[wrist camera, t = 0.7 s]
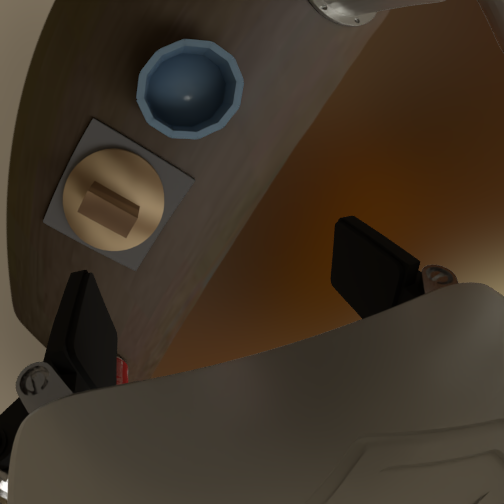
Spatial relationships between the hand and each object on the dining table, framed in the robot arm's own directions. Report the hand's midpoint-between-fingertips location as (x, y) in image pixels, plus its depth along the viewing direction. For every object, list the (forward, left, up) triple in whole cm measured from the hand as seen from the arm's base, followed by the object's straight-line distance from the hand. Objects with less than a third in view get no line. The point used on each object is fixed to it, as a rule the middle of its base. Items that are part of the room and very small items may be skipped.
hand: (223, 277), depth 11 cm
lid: (+11, -3, -29) cm, 31 cm away
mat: (+11, -3, -30) cm, 32 cm away
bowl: (-6, -3, -30) cm, 31 cm away
